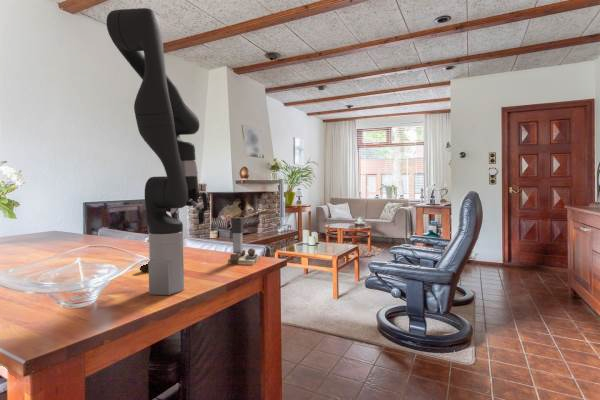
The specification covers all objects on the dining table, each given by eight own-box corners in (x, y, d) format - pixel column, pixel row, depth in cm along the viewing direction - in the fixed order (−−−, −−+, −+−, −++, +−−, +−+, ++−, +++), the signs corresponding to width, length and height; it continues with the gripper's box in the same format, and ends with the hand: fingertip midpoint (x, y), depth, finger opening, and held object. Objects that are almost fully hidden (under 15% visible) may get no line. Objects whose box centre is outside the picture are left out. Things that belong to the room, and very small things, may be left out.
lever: (240, 258, 134) (239, 218, 133) (231, 258, 134) (230, 218, 133) (244, 255, 140) (244, 216, 139) (236, 255, 140) (235, 216, 139)
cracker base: (253, 264, 131) (253, 251, 131) (227, 264, 132) (227, 250, 132) (259, 258, 141) (259, 246, 141) (235, 258, 142) (235, 245, 142)
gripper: (158, 176, 109) (162, 226, 110) (202, 174, 108) (205, 225, 109) (169, 175, 116) (172, 222, 118) (210, 174, 115) (213, 221, 117)
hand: (188, 224), depth 114 cm, fingers open, 8 cm apart
